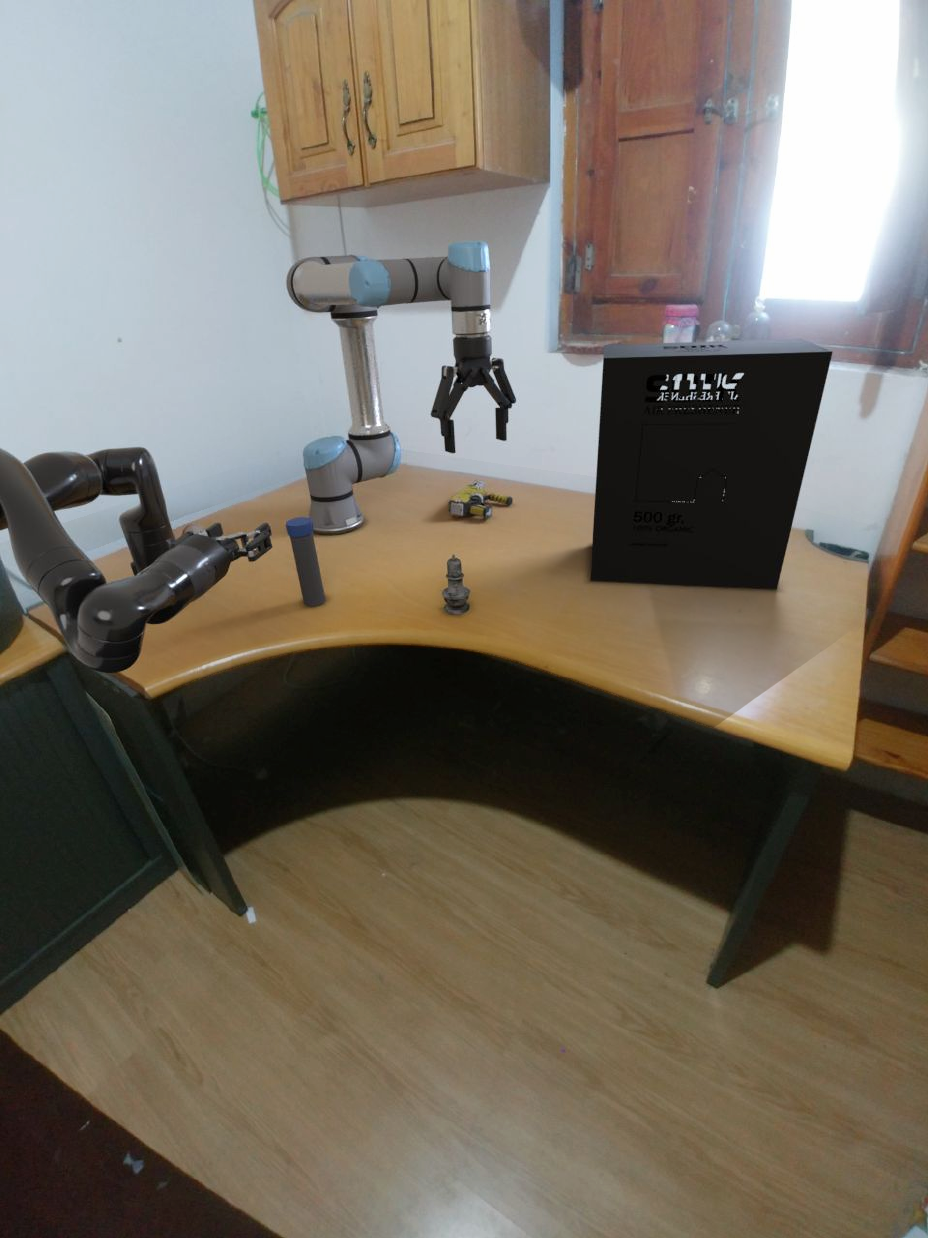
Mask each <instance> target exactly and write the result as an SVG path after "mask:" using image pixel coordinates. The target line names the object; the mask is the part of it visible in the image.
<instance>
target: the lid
mask: <svg viewBox="0 0 928 1238" xmlns="http://www.w3.org/2000/svg"><path fill="white" fill-rule="evenodd" d="M285 528H286V533H287V536H289V537H290V536H291V537H303V536H307V535H309V534H311V533H313V534H314V532H313V531H314V528H313V523H312V520H311V518H309V516H299V517H293V518H291V519H288V520H286V522H285Z"/></svg>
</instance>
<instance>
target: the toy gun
mask: <svg viewBox="0 0 928 1238" xmlns="http://www.w3.org/2000/svg"><path fill="white" fill-rule="evenodd" d="M485 485H486V483H485V480H480V481H479V479H475V480H474V481H472V483H470V484H467V486H465V487H464V488H463V489H462V490H461V491H459V492H458V493H456V494H455V495H454V496H453V497H452V498H451V499H450V500H448V502H447V513H448V514H449V515H451V516H452V517H456V518H458V517H467V516H472V515H473V516H479V517H482V520H484V521H486V520H487V519H489V518H491V517H492V516H493V515H492V514H493V505H492V504H488V505H486V503H485V502H486V501H488V500H489V501H490V502H494V503H496V502H497V503H499V504H504V505H507V506H508V507H509V506H512V505H513V502H514V501H513V500H514V498H513V497H512V496H508V495H507V496H506V495H502V494H498V493H494V492H490V493H489V494H487V492H486V490H485V488H483V487H484V486H485Z"/></svg>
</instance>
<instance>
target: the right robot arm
mask: <svg viewBox="0 0 928 1238" xmlns="http://www.w3.org/2000/svg"><path fill="white" fill-rule="evenodd" d="M490 263H491V262H490V252H489V245H488V244H487V242H485V241H484V240H466V241H455V242H451V243H450V244H449V245H448V247H447V256H431V257H430V256H427V257H413V258H411V257H410V258H391V259H390V258H386V259H374V258H370V257H369V256H367V255H358V254H349V255H328V256H326V255H325V256H310V257H305V258H302V259H300V260H298V261H296V262H295V263H293V265H291V267H290V268H289V269H288V272H287V275H286V281H285V282H286V283H285V284H286V285H285V286H286V290H287V293H288V296H289V297H290V299H291V300H292V303H294V304H295V305H296V306H298V307H299V308H300V309H302V310H304V311H306V312H310V313H318V314H319V313H320V314H321V313H330V320H331V321H332V322H333V323H334V324H335V325H336V326H337V327H338V332H339V333H338V334H339V339H340V347H341V355H342V361H343V369H344V375H345V382H346V383H345V384H346V389H347V396H348V404H349V410H350V418H351V425H350V426H349V428H348V430H347V436H348V439H345V437H343V436H341V435H332V436H324V437H321V438H318V439H315V440H312V441H311V442H309V443H308V444H306V445H305V446H304V448H303V450H302V457H303V459H302V460H303V467H304V471H305V476H306V481H307V486H308V492H309V498H310V507H309V513H308V518H311V520H312V523H313V528H314V531H313V534H317V535H323V536H324V535H325V536H327V535H329V536H331V535H339V534H340V535H341V534H345V533H350V532H353V531H355V530H357V529H359V528H361V527H362V526H363V525H364V523H365V519H364V514H363V512H362V510H361V508H360V505H359V504H358V501H357V500H356V498H355V495H354V489H353V485H354V484H355V485H356V484H359V483H363V482H368V481H371V480H375V479H381V478H385V477H387V476H390V475H392V474H394V473H396V472H397V470H398V469H399V467H400V465H401V462H402V446H401V443H400V441H399V437H398V436H397V435H396V434H395V432H394V431H391V426H390V425H388V423H386V422H385V420H384V419H385V418H384V410H383V402H382V393H381V385H380V377H379V368H378V367H379V366H378V358H377V349H376V341H375V331H374V324H375V322H376V320H377V319H378V317H379V314H378V309H379V308H381V307H385V306H394V305H403V304H405V305H406V304H417V303H419V304H420V303H427V302H428V303H429V302H444V301H448V302H449V301H450V311H451V313H450V314H451V315H450V316H451V334H453V335H454V337H453V339H452V350H453V358H454V359H455V363H454V366H452V365H442V366H441V373H440V374H441V375H440V376H441V377H440V381H439V384H438V388H437V390H436V395H435V398H434V401H433V404H432V407H431V411H430V416H431V418H435V419H438V421H439V426H440V435H441V437H443V441H444V442H443V443H444V452H446V453H450V454H456V433H455V420H454V419H451V418H452V416H453V414H454V413H455V410H456V409H457V406H458V404H459V402H460V401H461V399H462V397H463V396H464V393H465V392H466V391H468V389H469V388H474V387H477V386H478V387H482V386H483V387H484V389H485V390H486V391H487V392H488V394H489V396H491V398H492V399H493V401H494V402H495V403H496V405H497V406H498V407H495V408H494V410H495V411H494V413H495V414H494V415H495V439H496V440H499V441H502V442H507V441H508V438H507V435H508V433H507V424H509V410H510V409H512V407H513V404H516V403H517V398H516V394H515V393H514V390H513V388H512V385H511V383H510V380H509V378H508V375H507V373H506V370H505V363H504V362H505V361H504V359H503V358H499V357H493V358H491V356H492V354H493V346H492V344H493V343H492V340H493V339H492V336H491V335H489V333H491V332H492V315H491V314H492V312H491V311H492V309H491V264H490ZM491 370H492V374H493V376H494V378H493V376H492V375H491ZM455 377H456V378H455ZM454 378H455V380H454ZM495 381H496V383H497V384H496V383H495Z"/></svg>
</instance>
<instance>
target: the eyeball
mask: <svg viewBox="0 0 928 1238" xmlns="http://www.w3.org/2000/svg"><path fill="white" fill-rule="evenodd" d="M200 530H206V529H205V528H204V527H203V526H202V525H200V524H198V523H190V524H188V525H186V526H185V527H184V528H183V529H182V533H181V536H182V535H183V534H185V533H186V532H189V531H192V532H193V534H198V531H200Z"/></svg>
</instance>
